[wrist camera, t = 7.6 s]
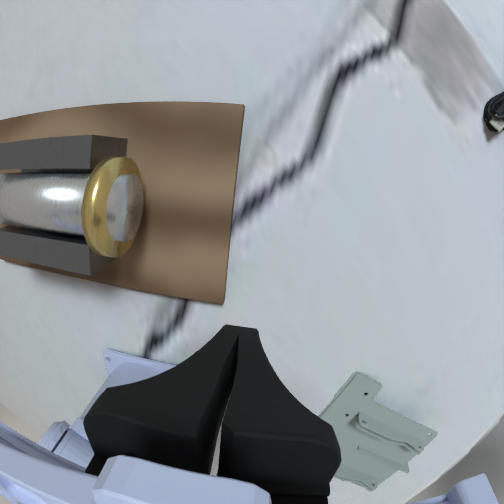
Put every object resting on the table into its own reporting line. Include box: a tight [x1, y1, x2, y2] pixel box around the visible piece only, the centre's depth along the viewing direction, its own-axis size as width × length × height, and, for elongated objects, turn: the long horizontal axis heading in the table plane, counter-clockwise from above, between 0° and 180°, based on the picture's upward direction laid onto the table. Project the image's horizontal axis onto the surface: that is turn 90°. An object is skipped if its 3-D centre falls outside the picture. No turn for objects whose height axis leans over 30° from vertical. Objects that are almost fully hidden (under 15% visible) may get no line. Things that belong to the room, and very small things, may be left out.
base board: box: [0, 102, 245, 304], centre depth 21 cm, size 14×24×1 cm, turn 84°
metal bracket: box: [318, 371, 437, 491], centre depth 26 cm, size 14×6×15 cm
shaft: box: [0, 157, 144, 258], centre depth 17 cm, size 6×16×6 cm, turn 84°
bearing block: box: [0, 135, 128, 276], centre depth 18 cm, size 9×10×5 cm
